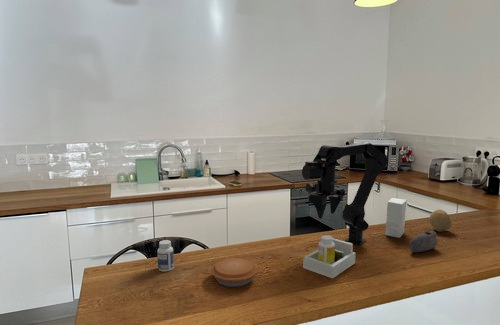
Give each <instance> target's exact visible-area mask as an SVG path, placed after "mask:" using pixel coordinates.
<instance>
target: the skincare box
mask: <svg viewBox="0 0 500 325" xmlns="http://www.w3.org/2000/svg"><path fill="white" fill-rule="evenodd" d="M406 210H407V199H405V198H404V199H403V198H397V197H396V198H395V197H391V198H390V199H389V200H388V201H387V207H386V221H385V236H387V237H393V238H398V239H401V237H402V236H403V235H404V233H405V221H406Z"/></svg>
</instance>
